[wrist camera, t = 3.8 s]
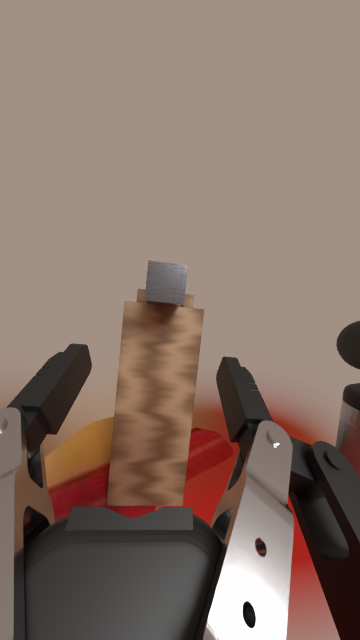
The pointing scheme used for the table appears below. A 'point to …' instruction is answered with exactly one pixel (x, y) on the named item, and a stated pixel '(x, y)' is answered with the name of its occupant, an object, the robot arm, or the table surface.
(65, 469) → the table surface
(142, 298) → the walnut stand
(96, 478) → the table surface
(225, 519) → the robot arm
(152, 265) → the lever bar
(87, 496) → the table surface
